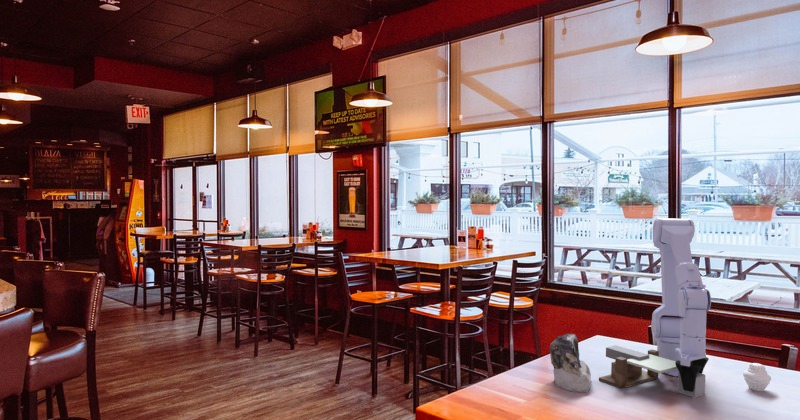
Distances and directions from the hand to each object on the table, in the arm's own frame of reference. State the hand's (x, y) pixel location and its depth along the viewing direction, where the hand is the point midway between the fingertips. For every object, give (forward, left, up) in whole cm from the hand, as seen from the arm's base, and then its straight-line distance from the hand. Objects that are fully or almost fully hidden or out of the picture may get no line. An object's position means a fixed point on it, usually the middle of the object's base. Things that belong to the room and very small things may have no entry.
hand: (691, 387), depth 137 cm
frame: (+5, -15, -1) cm, 15 cm away
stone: (+22, -20, -2) cm, 30 cm away
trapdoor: (+5, -11, +4) cm, 13 cm away
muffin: (-18, +7, -2) cm, 19 cm away
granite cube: (0, 0, -1) cm, 1 cm away
